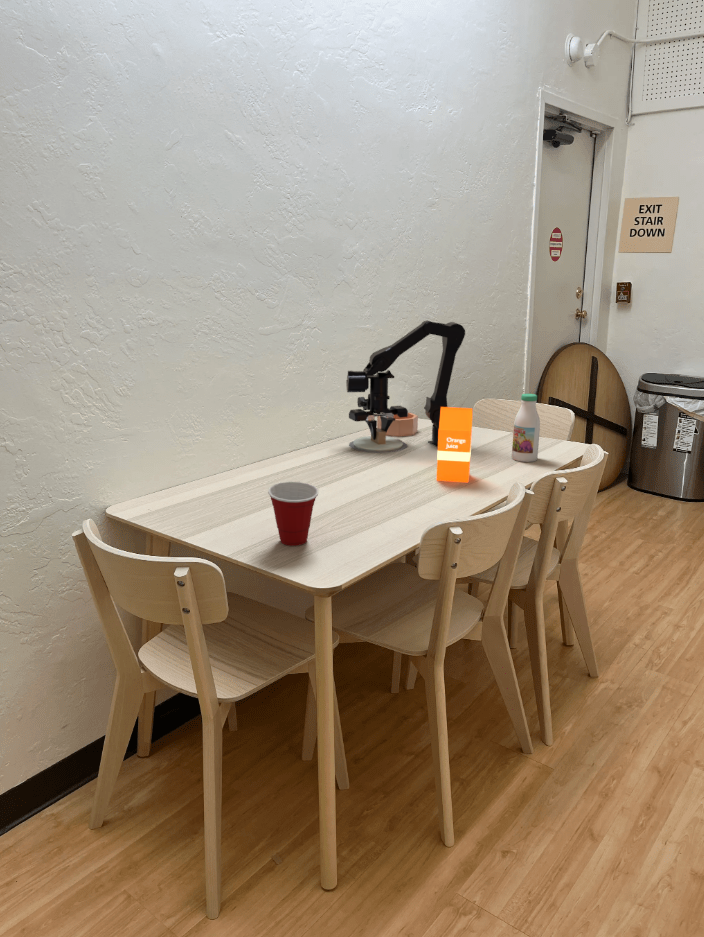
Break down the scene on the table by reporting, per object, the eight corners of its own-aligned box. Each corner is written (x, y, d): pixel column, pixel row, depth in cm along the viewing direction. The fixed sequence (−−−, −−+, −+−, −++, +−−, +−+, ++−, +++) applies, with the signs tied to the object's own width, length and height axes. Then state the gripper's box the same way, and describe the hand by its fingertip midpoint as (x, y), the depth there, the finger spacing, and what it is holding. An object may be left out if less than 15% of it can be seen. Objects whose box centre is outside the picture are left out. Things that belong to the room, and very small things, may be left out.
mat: (417, 450, 227) (417, 449, 227) (363, 456, 220) (363, 455, 220) (391, 436, 244) (391, 435, 244) (340, 441, 237) (340, 440, 237)
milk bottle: (521, 454, 223) (526, 391, 218) (542, 459, 218) (548, 395, 212) (506, 458, 219) (510, 394, 213) (527, 464, 213) (532, 398, 207)
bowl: (422, 434, 247) (423, 418, 245) (388, 438, 242) (388, 421, 240) (405, 426, 258) (405, 410, 256) (372, 430, 253) (372, 413, 251)
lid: (411, 448, 228) (411, 433, 227) (365, 453, 222) (365, 438, 221) (389, 437, 242) (389, 422, 241) (346, 441, 236) (346, 426, 235)
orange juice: (468, 482, 195) (472, 411, 190) (436, 480, 197) (439, 409, 191) (469, 474, 203) (473, 405, 197) (438, 472, 204) (441, 404, 199)
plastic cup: (285, 555, 148) (284, 500, 144) (260, 539, 156) (258, 487, 153) (329, 543, 154) (328, 490, 150) (302, 528, 162) (301, 478, 159)
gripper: (393, 385, 238) (392, 431, 242) (342, 389, 231) (342, 436, 235) (409, 391, 228) (408, 438, 232) (355, 395, 221) (355, 444, 225)
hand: (378, 439), depth 232 cm, fingers closed on lid, 2 cm apart
